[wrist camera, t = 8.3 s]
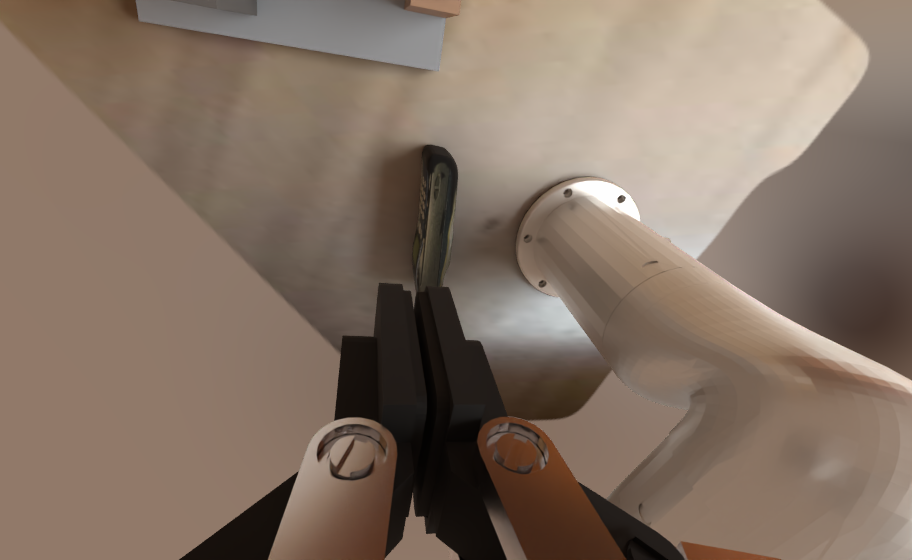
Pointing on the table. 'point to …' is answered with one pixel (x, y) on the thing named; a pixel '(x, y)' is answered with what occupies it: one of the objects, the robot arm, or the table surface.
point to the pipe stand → (325, 26)
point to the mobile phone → (434, 217)
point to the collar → (227, 5)
